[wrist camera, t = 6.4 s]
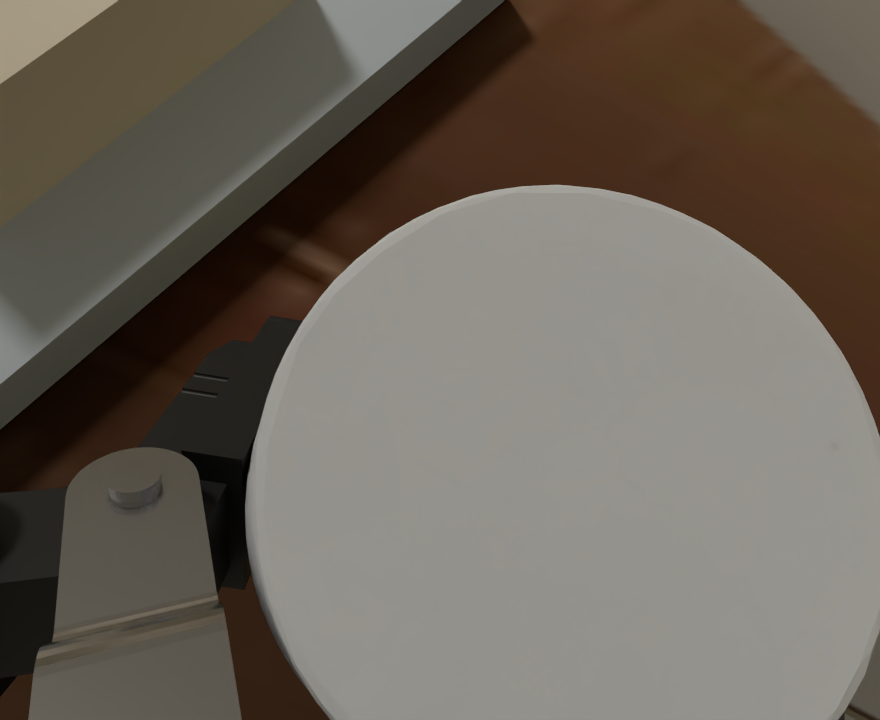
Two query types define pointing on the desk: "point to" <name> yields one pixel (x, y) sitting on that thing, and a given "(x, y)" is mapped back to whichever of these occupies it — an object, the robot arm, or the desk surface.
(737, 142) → the desk surface
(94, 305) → the board
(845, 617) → the pill bottle
